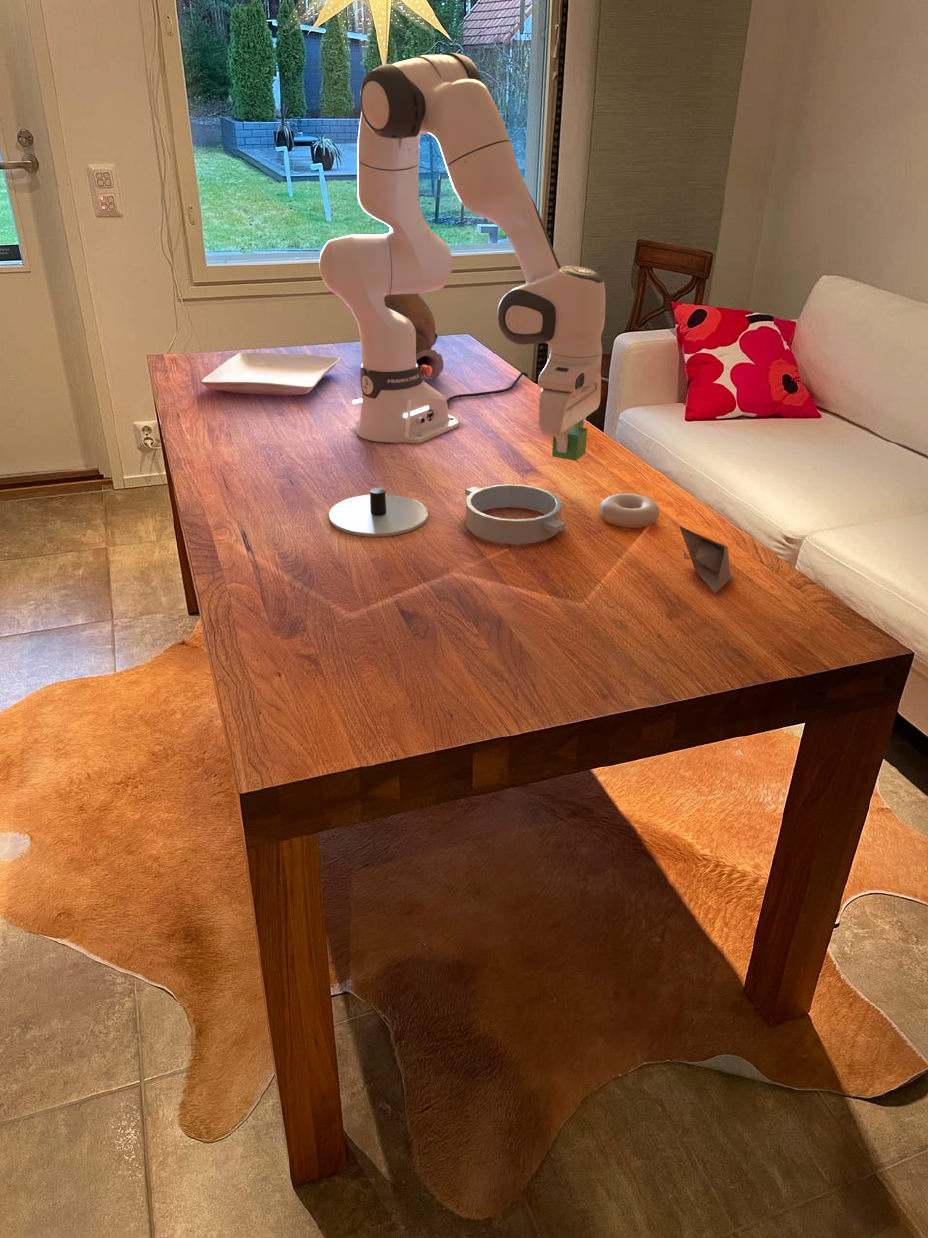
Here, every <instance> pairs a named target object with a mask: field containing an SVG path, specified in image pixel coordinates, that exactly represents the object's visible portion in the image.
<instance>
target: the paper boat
mask: <svg viewBox="0 0 928 1238" xmlns="http://www.w3.org/2000/svg"><path fill="white" fill-rule="evenodd" d="M678 527H679V529H680V533H681V535H682V537H683V541H684V544H685V546H686V549H687V552H688V554H689V556H688V554H687V552H686V551H683V557H684V560H691V562H692V565H693V568H694V570H695V572H696V573H697V574H698V575H699V576H700V578H702V580H703V581H704V583H706V584H707V586H708V587H709V588H710V589H711V590H712V592H714V593H715V594H716V593H717V592H718V591H719V590H720V589H722V588H723V587H724V586H725V585H726V584H727V583H728V582H729V581H730V580H731V578H732V577H731V567H730V557H729V547H728V546H726V545H724V544H722V543H720V542H717V541H715V540H713V539H711V538H708V537H706V536H703V535H701V534H699V533H697V532H694V531H693V530H689V529H688V528H686V527H683V526H680V525H679V526H678Z"/></svg>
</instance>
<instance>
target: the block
mask: <svg viewBox="0 0 928 1238" xmlns="http://www.w3.org/2000/svg"><path fill="white" fill-rule="evenodd" d="M567 436H568V441H570V442H569V450H568V451H566V452H565V453H562V452H558V451H557V441H556V437H555V436H552V451H551V455H552V456H551V457H553V458H558V459H562V460H563V459H564V460H569V461H574V462H577V461H578V460H579V459H580V458H582V457H583V456H584V455H586V452H587V451H586V450H587V440H588V428H585V427H584V428H580V427H574V426H573V427H572V428H570V429H569V434H567Z"/></svg>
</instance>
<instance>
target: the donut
mask: <svg viewBox="0 0 928 1238" xmlns="http://www.w3.org/2000/svg"><path fill="white" fill-rule="evenodd" d="M599 514H600V517H602V519H603V521H605V522H607V523H608V524H610V525H613V526H615V527H620V528H625V529H640V528H641V529H642V528H647V527H649V526H652V525H653V524H654V523H655V522H656V521H657V520H658V519H659V516H660V508H659V506H658V504H657V503H656V502H655V501H654V500H653V499H652V498H649V497H647V496H645V495H641V494H638V493H630V492H628V493H616V494H612V495H609V496H607V497H605V499H604V500H602V502H601V503H600V507H599Z"/></svg>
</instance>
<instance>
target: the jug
mask: <svg viewBox="0 0 928 1238" xmlns="http://www.w3.org/2000/svg"><path fill="white" fill-rule="evenodd" d="M384 302H385V306H386V307H387V308H389V309H391V310H393V311H395V312H397V313H399V314H401V315H403V316H405V317H406V318H408V319H409V320H410V321H411V322H412V324H413V325H414V328H415V331H416V363H417V364H419V365H420V366H422V365H424V364H425V365H427V366H431V368H432V370H433V371H432V373H430V374H431V375H430V376H427V375H425V374H422V376H425V377H426V378H428V379H430V380H432V381H433V380H436V379H437V378H438V377H439V376H440V374H441V373H442V372H443V371H444V364H445V363H444V359H443V355H442V354H441V353H438V352H437V351H436V350H434V349H432V348H433V346H435V344H436V343H437V341H438V337H439V336H438V334H437V332H436V331H437V330H436V321H435V317H434V315H433V312H432V310H431V307H430V306H429V304H428V303H427V301H426V300H425V299H424V298H423V296H422V295H421V294H398V295H387V296H385V297H384Z"/></svg>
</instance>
